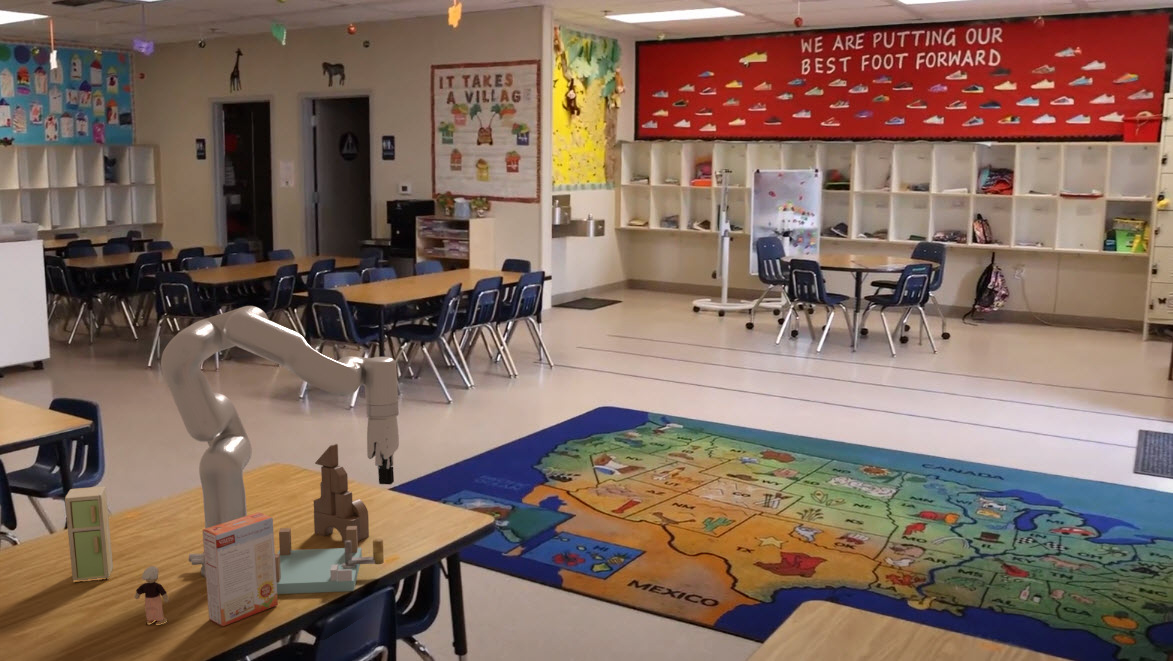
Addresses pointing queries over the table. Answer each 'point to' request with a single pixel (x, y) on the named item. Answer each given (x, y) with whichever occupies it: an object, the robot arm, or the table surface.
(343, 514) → the wooden toy
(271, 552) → the cracker box
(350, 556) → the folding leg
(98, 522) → the toy refrigerator
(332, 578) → the mint green baseplate
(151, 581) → the grandmother figurine
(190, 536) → the table surface
